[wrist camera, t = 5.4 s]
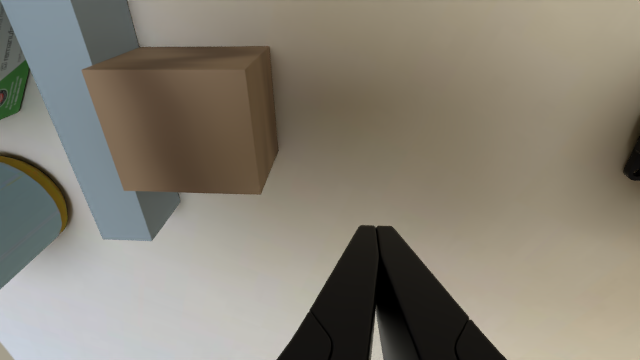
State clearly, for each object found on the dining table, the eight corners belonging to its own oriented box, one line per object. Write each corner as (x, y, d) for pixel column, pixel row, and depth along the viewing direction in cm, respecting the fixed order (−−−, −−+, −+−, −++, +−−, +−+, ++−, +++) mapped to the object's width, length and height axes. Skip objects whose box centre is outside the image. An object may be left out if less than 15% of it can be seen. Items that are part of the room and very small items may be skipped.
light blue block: (115, -43, 17) (55, -44, 14) (180, 201, 24) (152, 240, 21) (55, -41, 17) (-18, -42, 14) (137, 200, 25) (102, 239, 21)
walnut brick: (269, 45, 19) (244, 69, 14) (278, 149, 22) (260, 194, 18) (141, 46, 19) (81, 69, 15) (167, 147, 22) (124, 190, 18)
